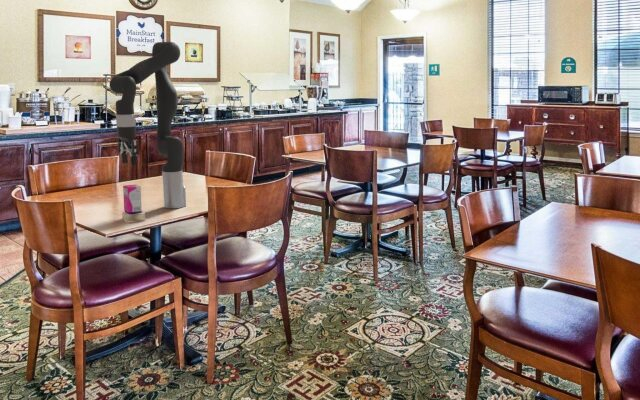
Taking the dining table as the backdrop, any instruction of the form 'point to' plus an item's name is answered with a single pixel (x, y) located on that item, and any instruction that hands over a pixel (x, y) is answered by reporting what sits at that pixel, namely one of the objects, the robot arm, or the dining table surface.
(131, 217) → the maple block
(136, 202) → the supplement box
